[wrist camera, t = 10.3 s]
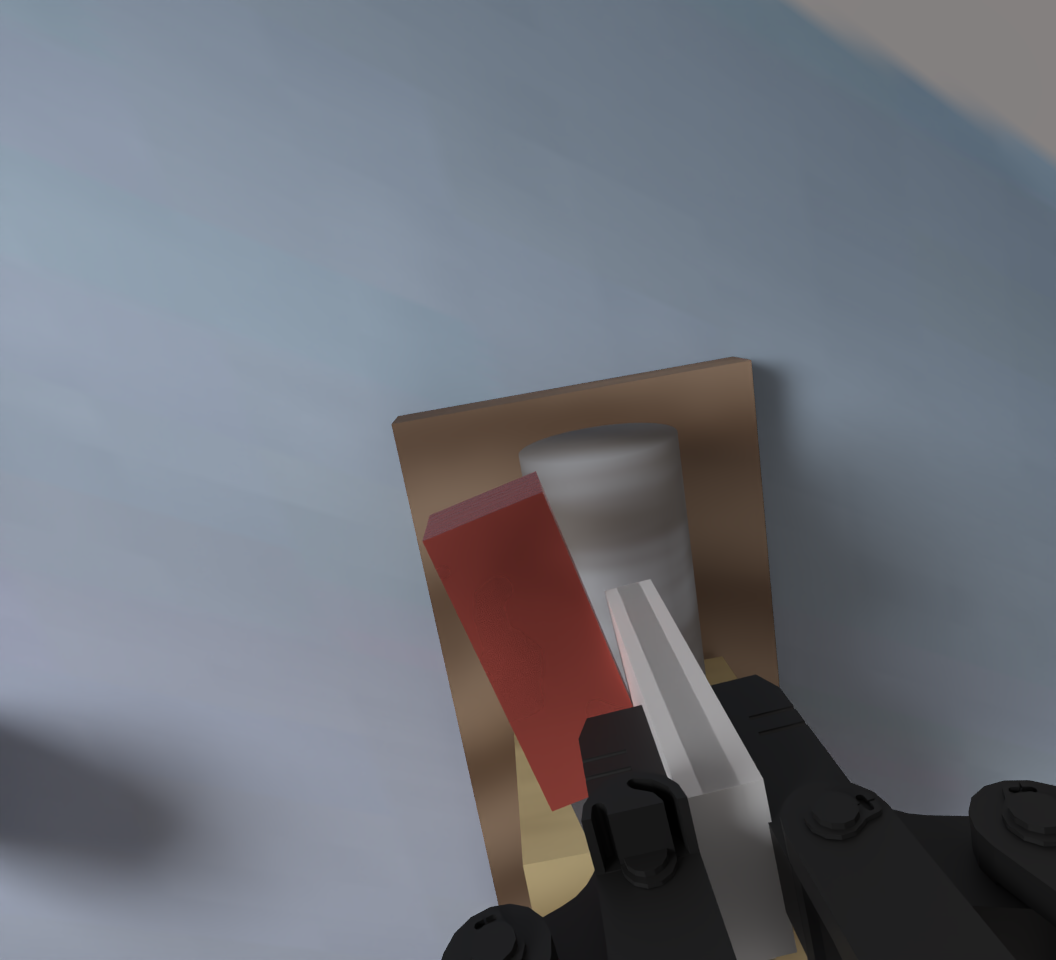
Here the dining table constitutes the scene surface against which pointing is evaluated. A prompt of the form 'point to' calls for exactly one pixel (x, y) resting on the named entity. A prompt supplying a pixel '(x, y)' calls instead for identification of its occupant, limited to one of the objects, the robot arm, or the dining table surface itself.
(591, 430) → the pipe rig
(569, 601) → the valve lever
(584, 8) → the dining table surface
